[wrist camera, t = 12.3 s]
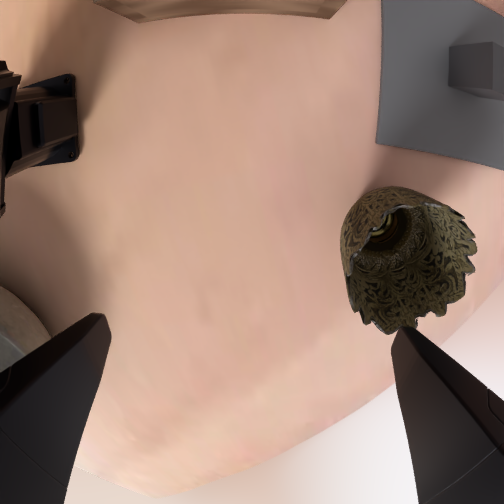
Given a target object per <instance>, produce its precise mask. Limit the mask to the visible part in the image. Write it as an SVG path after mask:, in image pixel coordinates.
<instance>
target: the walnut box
mask: <svg viewBox="0 0 504 504" xmlns="http://www.w3.org/2000/svg"><path fill="white" fill-rule="evenodd" d="M346 1H347V0H93V3H95V4H97V5H100V6H102V7H104V8H107V9H109V10H111V11H113V12H116V13H118V14H120V15H122V16H124V17H126V18H129V19H131V20H133V21H135V22H137V23H141V22H147V21H153V20H160V19H167V18H175V17H185V16H195V15H209V14H236V13H255V14H282V15H296V16H306V17H316V18H324V19H330V18H331V17H332V16H333V15H334V14H335V13H336V12H337V11H338V9H339V8H340V7H341V6H342V5H343V4H344V3H345V2H346Z"/></svg>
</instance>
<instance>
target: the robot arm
mask: <svg viewBox="0 0 504 504" xmlns="http://www.w3.org/2000/svg"><path fill="white" fill-rule="evenodd" d="M13 73H14V72H12V71H9V70H8V68H7V65H6V62H5V61H2V60H0V218H1V217H2V215H3V214H4V213H5V206H6V204H5V202H4V189H5V179H6V178H8V177H10V176H12V175H14V174H16V173H18V172H20V171H22V170H24V169H27V168H29V167H35V166H42V165H50V164H57V163H66V162H72V161H75V160H77V159H78V157H79V147H78V135H77V133H78V124H77V104H76V98H75V76H74V75H73V74H64V75H61V76H57V77H54V78H51V79H47V80H44V81H41V82H38V83H35V84H32V85H29V86H26V87H23V88H20V89H17V87H18V84H20V81H21V77H22V75H19V74H13ZM68 78H69V83H67V79H68ZM71 152H73V154H74V156H73V157H72V156H71ZM110 343H111V331H110V328H109V325H108V322H107V319H106V316H105V315H104V314H102V313H91V314H89V315H87V316H86V317H84V318H83V319H81V320H80V321H78V322H76V323H75V324H73V325H72V326H70V327H69V328H67V329H65V330H64V331H62V332H61V333H59V334H58V335H56V336H55V337H53V338H52V339H50V340H48V341H47V342H45V343H44V344H42V345H41V346H39V347H38V348H36V349H35V350H33V351H32V352H30V353H29V354H27V355H26V356H24V357H23V358H21V359H20V360H18V361H17V362H15V363H14V364H12V366H9V367H8V368H6V369H5V370H3V371H2V372H0V504H64V500H65V496H66V492H67V487H68V483H69V479H70V476H71V472H72V468H73V465H74V461H75V458H76V454H77V451H78V447H79V444H80V441H81V437H82V434H83V431H84V428H85V425H86V422H87V419H88V416H89V413H90V410H91V407H92V404H93V401H94V398H95V395H96V392H97V390H98V387H99V384H100V381H101V377H102V374H103V370H104V366H105V362H106V358H107V354H108V350H109V347H110ZM391 356H392V362H393V368H394V375H395V382H396V389H397V395H398V399H399V403H400V408H401V412H402V416H403V420H404V425H405V429H406V434H407V439H408V444H409V449H410V453H411V459H412V464H413V470H414V476H415V482H416V488H417V495H418V502H419V504H504V401H503V400H502V399H501V398H500V397H498V396H497V395H496V394H495V393H494V392H493V391H491V390H490V389H487V387H486V386H485V385H484V384H483V383H482V382H480V381H479V380H478V379H477V378H476V377H474V376H473V375H472V374H471V373H470V372H468V371H467V370H466V369H465V368H464V367H462V366H461V365H460V364H459V363H457V362H456V361H455V360H454V359H453V358H451V357H450V356H449V355H448V354H446V353H445V352H444V351H443V350H441V349H440V348H439V347H438V346H436V345H435V344H434V343H433V342H431V341H430V340H429V339H428V338H426V337H425V336H424V335H423V334H421V333H420V332H419V331H418V330H416V329H415V328H414V327H412V326H406V327H400V328H399V330H398V332H397V334H396V337H395V339H394V341H393V344H392V347H391Z"/></svg>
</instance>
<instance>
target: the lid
mask: <svg viewBox="0 0 504 504" xmlns="http://www.w3.org/2000/svg"><path fill="white" fill-rule="evenodd" d="M381 18H382V46H381V78H380V95H379V109H378V121H377V132H376V142H375V143H377V144H383V145H389V146H396V147H402V148H407V149H413V150H419V151H424V152H429V153H434V154H439V155H444V156H448V157H453V158H457V159H461V160H466V161H470V162H474V163H478V164H482V165H485V166H489V167H493V168H496V169H500V170H503V171H504V17H503V16H501V15H499V14H498V13H496V12H494V11H492V10H490V9H489V8H487V7H485V6H483V5H481V4H479V3H477V2H475V1H473V0H381Z"/></svg>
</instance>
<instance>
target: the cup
mask: <svg viewBox="0 0 504 504" xmlns="http://www.w3.org/2000/svg"><path fill="white" fill-rule="evenodd" d="M462 219H465V218H464V216H463V215H461V214H460V213H458V212H457V211H455V210H453V209H452V208H451V207H449V206H448V205H445V204H443V203H441V202H439V201H437V200H435V199H433V198H430V197H428V196H426V195H424V194H422V193H419V192H417V191H414V190H411V189H407V188H403V187H394V186H392V187H382V188H379V189H376V190H373V191H371V192H369V193H367V194H365V195H364V196H362V197H361V198H360V199H359V200H358V201H357V202H356V203H355V204H354V205H353V206H352V207H351V209H350V210H349V212H348V214H347V216H346V218H345V220H344V223H343V226H342V229H341V237H340V250H341V259H342V264H343V270H344V275H345V280H346V286H347V293H348V298H349V302H350V305H351V307H352V310H353V311H354V313H356V312H358V311H359V312H360V315H361V318H362V321H363V323H364V324H365V325H368V324H371V321H372V322H373V323H374V324H375V325H376V327H377V328H378V329H379V330H380V331H382V332H383V333H385V334H386V335H390V334H392V333H394V332H396V331H397V330H398V329H399V328H400V327H406V326H412V327H414V328H415V329H416V328H417V326H418V325H417V324H418V322H417V321H418V320H417V319H416V318H417V317H425V316H426V315H427V314H428V312H430V311H432V312H433V313H435V314H436V316H437V317H441V316H444V315H445V314H446V312H447V304H451V303H455V302H456V301H458V300H459V299H461V298H462V297H464V295H465V289H466V281H465V275H466V274H465V273H467V274H468V273H470V274H472V273H473V272H475V267H474V265H473V264H472V262H471V261H470V260H469V258H468V256H473V255H474V254H476V252H477V247H476V243H475V241H473V240H472V239H471V238H475V235H474V233H473V232H472V231H471V230H470V229H469V228H468V226H467V225H466V223H465V222H464V221H462ZM468 275H469V274H468ZM426 313H427V314H426ZM415 319H416V323H415ZM370 320H371V321H370Z"/></svg>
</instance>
